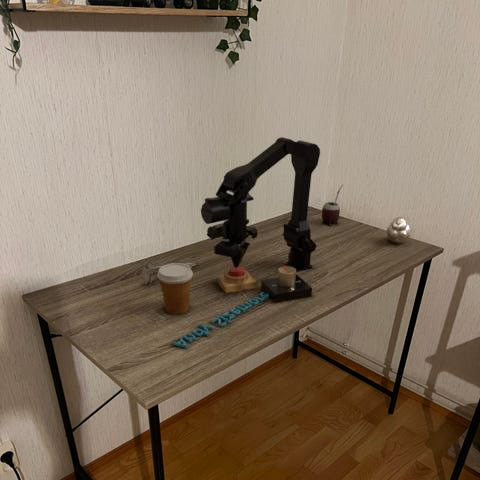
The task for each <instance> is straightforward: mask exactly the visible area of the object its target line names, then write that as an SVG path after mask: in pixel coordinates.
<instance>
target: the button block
mask: <svg viewBox="0 0 480 480" xmlns="http://www.w3.org/2000/svg"><path fill="white" fill-rule="evenodd" d="M216 283H217V285H219V287H220V288H221V289H222V290H223V292H224V293H225V294H229V293H235V292H239V291H240V292H241V291H247V290H251V289H257V281H256V279H255V278H254V277H253V276H252V274H250V273H249V271H247V270H246V269H244V275H243V276H241V277H233V276H230V275H229V269H227V270H225V271H224V274H220V275H216Z"/></svg>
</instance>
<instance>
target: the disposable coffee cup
mask: <svg viewBox="0 0 480 480" xmlns="http://www.w3.org/2000/svg"><path fill="white" fill-rule="evenodd" d="M185 264H186V263H180V262H174V263H167V264H164V265H161V266H162V267H161V268H160V269H159V272H158V274H157V275H156V276H157V278H158V280H159V284H160V289H161V292H162V298H163V302H164V306H165V310H166V312H167V313H169V314H173V315H179V314H180V315H181V314H184V313H186V312H188V310H189V306H190V296H191V295H190V294H191V283H192V278H193V276H194V272H193V270H192V268H190V267H189V266H188V265H185Z"/></svg>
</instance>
